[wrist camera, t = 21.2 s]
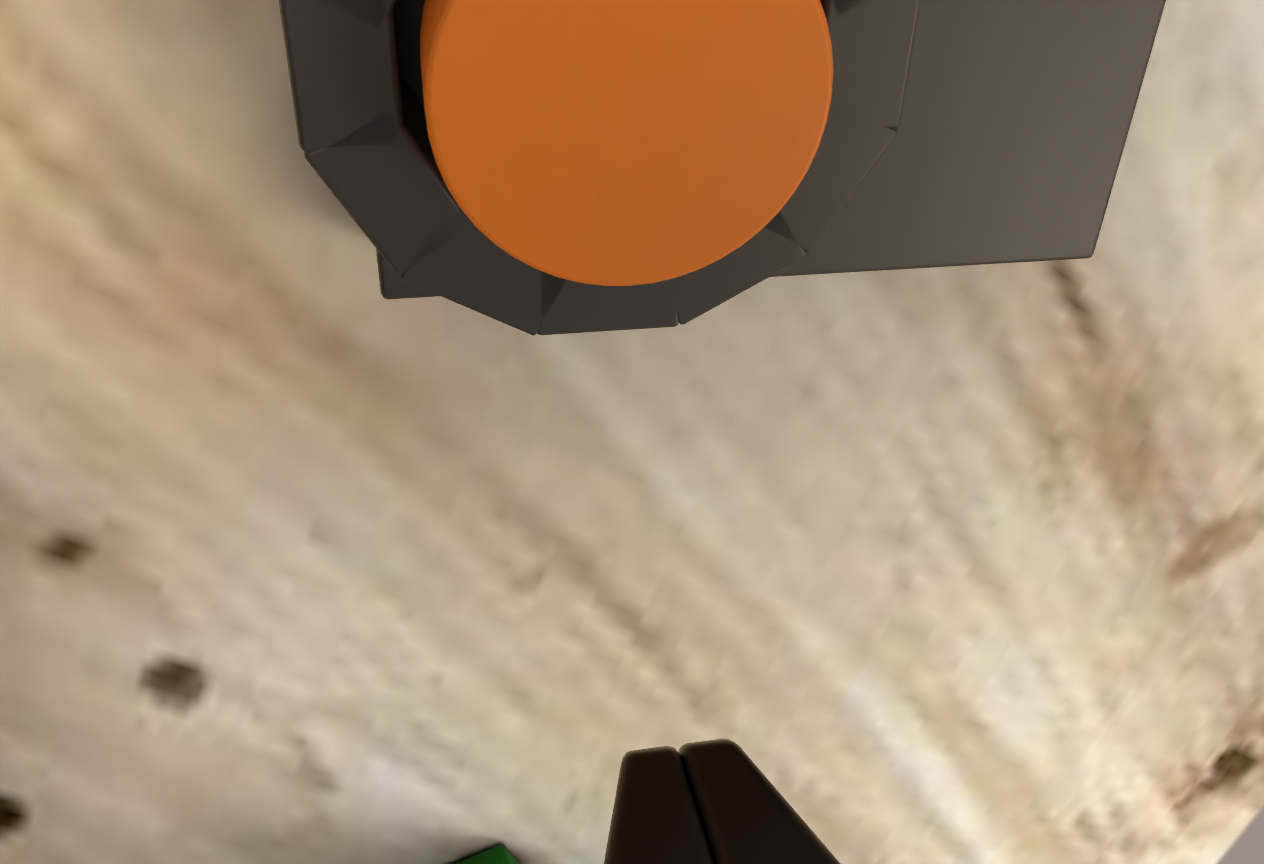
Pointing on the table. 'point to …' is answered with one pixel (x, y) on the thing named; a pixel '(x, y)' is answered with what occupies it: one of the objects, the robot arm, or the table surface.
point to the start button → (624, 125)
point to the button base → (832, 187)
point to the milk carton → (492, 857)
